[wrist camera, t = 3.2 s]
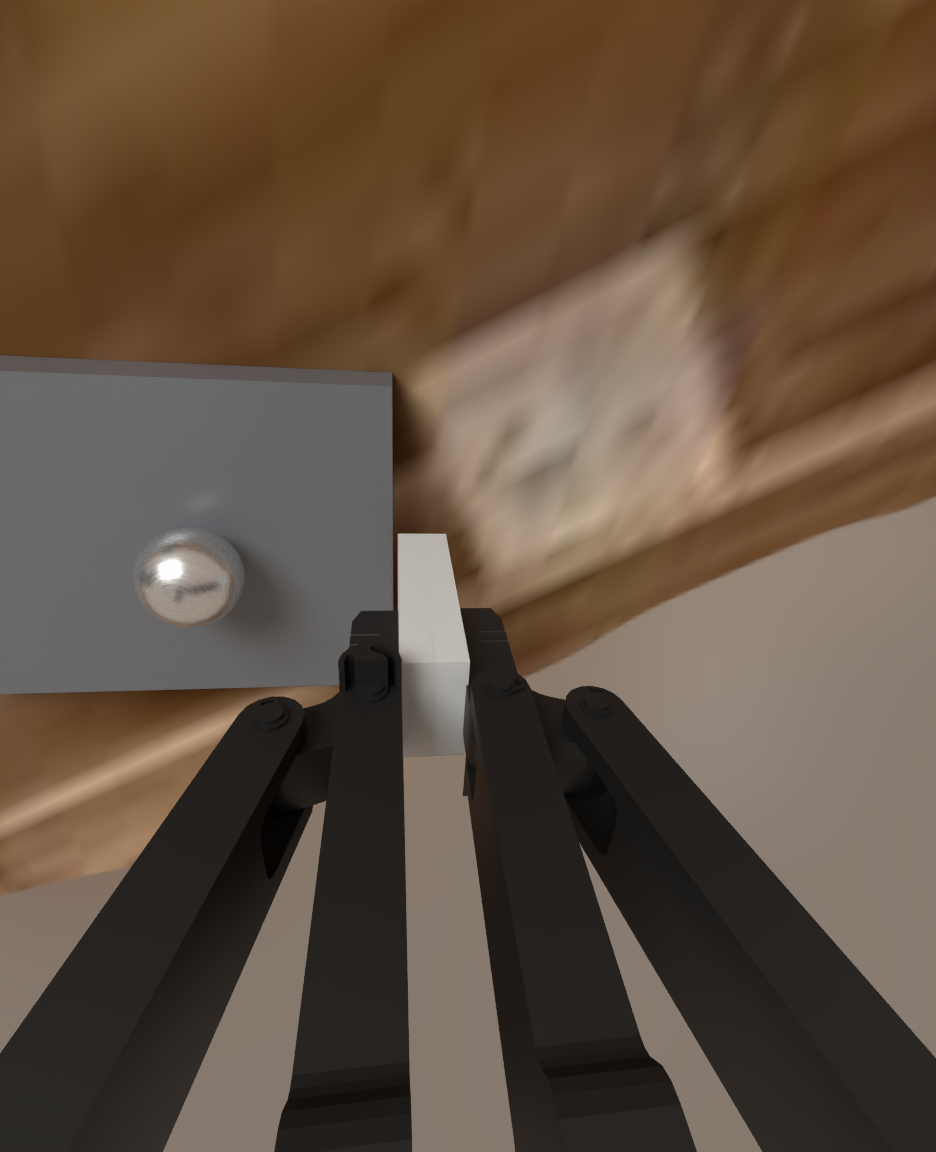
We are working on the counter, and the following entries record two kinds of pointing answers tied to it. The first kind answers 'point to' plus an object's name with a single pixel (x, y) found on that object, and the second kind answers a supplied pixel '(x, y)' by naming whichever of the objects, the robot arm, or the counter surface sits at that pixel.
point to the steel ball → (189, 577)
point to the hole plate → (188, 518)
